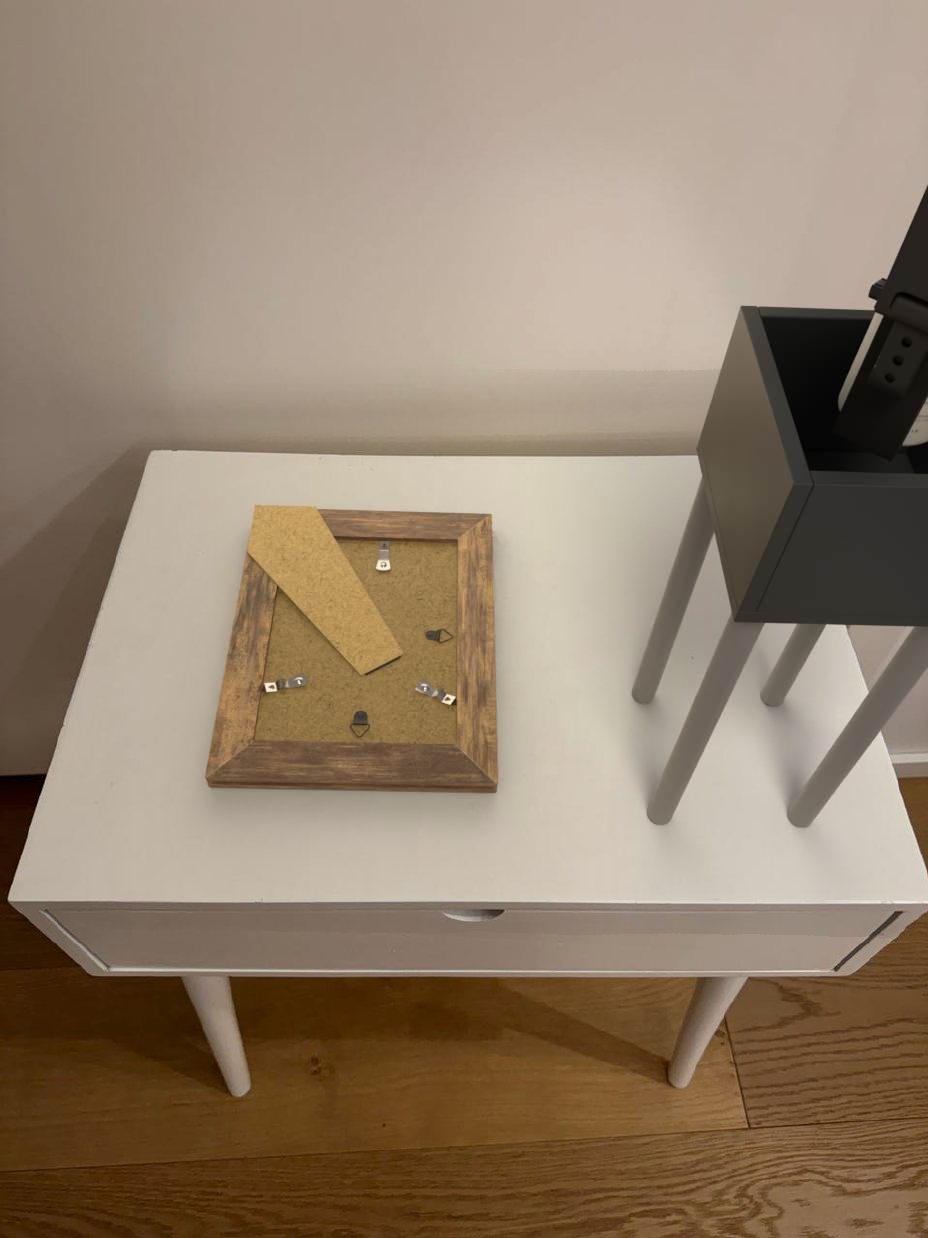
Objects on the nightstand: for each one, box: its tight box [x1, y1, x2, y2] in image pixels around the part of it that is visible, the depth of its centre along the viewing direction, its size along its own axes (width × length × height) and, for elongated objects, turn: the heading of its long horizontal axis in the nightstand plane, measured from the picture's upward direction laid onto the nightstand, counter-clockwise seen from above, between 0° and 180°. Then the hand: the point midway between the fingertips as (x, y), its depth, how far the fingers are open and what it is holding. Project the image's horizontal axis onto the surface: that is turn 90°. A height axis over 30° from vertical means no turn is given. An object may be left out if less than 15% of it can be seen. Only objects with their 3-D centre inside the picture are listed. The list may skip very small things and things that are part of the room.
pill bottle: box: [838, 312, 928, 446], centre depth 38 cm, size 4×4×8 cm
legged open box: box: [631, 305, 928, 829], centre depth 52 cm, size 12×12×31 cm
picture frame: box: [204, 504, 499, 794], centre depth 68 cm, size 19×2×24 cm
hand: (889, 410), depth 41 cm, fingers closed on pill bottle, 4 cm apart
